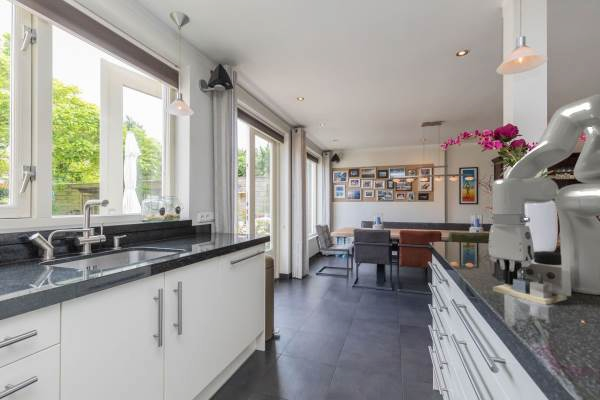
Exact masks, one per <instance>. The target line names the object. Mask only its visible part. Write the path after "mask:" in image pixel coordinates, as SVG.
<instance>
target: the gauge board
mask: <svg viewBox="0 0 600 400" xmlns="http://www.w3.org/2000/svg"><path fill="white" fill-rule="evenodd" d="M521 270H525V278H526V279H531V280H534V282H530V293H522V292H518V291H514V290H513V285H508V284H500V285H495V286H492V292H494V293H495V292H496V293H500V294H503V295H508V296H510V297H513V298H514V297H515V298H518V299H522V300H525V299H526V300H527V301H528V302H533V303H537V304H540V305H544V306H546V305H551V304H555V303H559V302H563V301H566V300H568V296H567V295H565V294H562V268H559V267H552V266H546V265H540V264H534V262H533V263H532V266H528V267H522V268H520V270H518V271H517V276H518V278H521Z"/></svg>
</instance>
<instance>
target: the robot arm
mask: <svg viewBox="0 0 600 400" xmlns="http://www.w3.org/2000/svg"><path fill="white" fill-rule="evenodd" d="M583 134H584V135H585V140H584V141H585V142H584V145H583V148H582V150H581V152H580V154H579V156H578V159H577V161H576V164H575V166H574V168H573V177H574V178H575V179H576V180H577V181H578V182H581V183H574V184H570V185H565V186H563V187H561V188H559V186H558V184H557V183H556V182H555V181H554V180H552V179H551V178H547V177H545V176H544V177H543V176H540V177H539V176H537V174H539V173H541V172H542V171H544V170H546V169H548V168H550V167H552V166H554V165H557V164H558V163H560V162H562V161H564V160H566V159H567V158H569V157H570V156H571V155H572V154H573V152H574V150H575V148H576V146H577V144H578V142H579V140H580V138H581V137H582V135H583ZM535 176H537V177H535ZM491 186H492V187H491V189H492V190H491V191H492V193H491V194H492V224H491V225H490V229H489V233H488V234H489V236H488V254H489V260H491V262H494V263H497V264H498V265H499V267H500V269H501V270H502V278H503V279H502V280H503V283H504V284H503V285H505V284H508V285H513V279H516V278H518V276H517V271H518V270H520V268H522V267H528V266H532V261H534V253H535V249H534V248H535V247H534V243H533V241H534V240H533V235H532V232H531V229H530V226H529V225H526V224H527V223H531V218H530V217H527V215H526V209H525V208H526V207H525V205H526V204H545V203H549V202H551V201H553V200H554V205H555V208H556V211H557V215H558V220H559V235H560V237H559V239H560V240H559V241H560V242H559V243H560V245H559V246H560V255H561V261H562V267H561V268H562V270H566V271H569V272H570V273H571V292H575V293H579V294H580V293H581V294H586V295H595V296H596V295H598V296H600V220H599V219H598V217H599V216H600V93H598V94H594V95H590V96H588V97H585V98H582V99H580V100H576V101H574V102H570V103H567V104H565V105H562V106H561V107H560V108H558V109H557V110H555V111H554V113H553V114H552V116H551V119H550V120H549V122H548V124H547V125H546V128H545V129H544V131H543V133H542V135H541V137H540V139H539V140H538V142H537V144H536V145H535V146H534V147H533V148H532V149H531V150H530V151H528V152H527V153H526V154H525V155H524V156H523V157H522V158H520V159H519V160H517V162H516V163H514V165H513V166H512V167H511V169H510V170H509V171H508V173H507V175H506V176H505V178H500V179H494V181H493V182H492V184H491Z"/></svg>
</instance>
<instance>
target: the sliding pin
mask: <svg viewBox="0 0 600 400" xmlns="http://www.w3.org/2000/svg"><path fill="white" fill-rule="evenodd" d="M530 282H534V280H531V279H526V278H525V270H521V278H516V279H513V290H514V291H518V292H522V293H530Z"/></svg>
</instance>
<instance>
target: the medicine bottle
mask: <svg viewBox="0 0 600 400" xmlns="http://www.w3.org/2000/svg"><path fill="white" fill-rule="evenodd" d="M533 264H540V265H546V266H552V267H559V268H561V267H562V261H561V253H559V252H555V251H545V250H544V251H543V250H542V251H541V250H539V251H538V250H537V251H534V259H533ZM562 294H565V295H567V297H572V291H571V273H570V272H569V271H566V270H562Z"/></svg>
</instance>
